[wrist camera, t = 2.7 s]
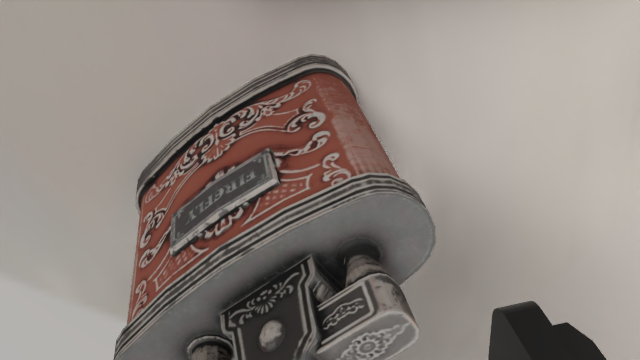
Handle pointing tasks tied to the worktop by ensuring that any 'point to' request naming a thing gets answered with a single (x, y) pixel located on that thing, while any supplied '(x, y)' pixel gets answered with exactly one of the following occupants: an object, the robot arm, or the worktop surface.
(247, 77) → the worktop surface
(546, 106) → the worktop surface
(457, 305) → the worktop surface
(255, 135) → the lighter
